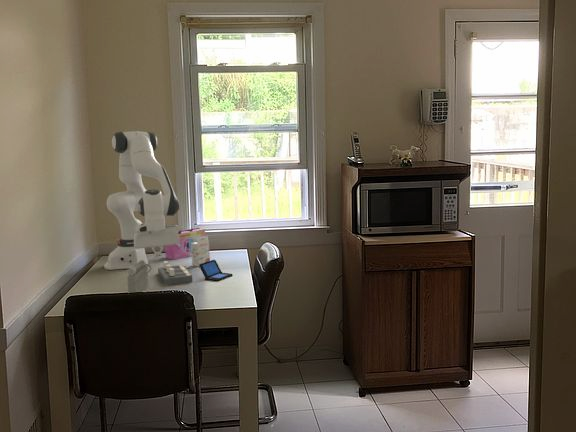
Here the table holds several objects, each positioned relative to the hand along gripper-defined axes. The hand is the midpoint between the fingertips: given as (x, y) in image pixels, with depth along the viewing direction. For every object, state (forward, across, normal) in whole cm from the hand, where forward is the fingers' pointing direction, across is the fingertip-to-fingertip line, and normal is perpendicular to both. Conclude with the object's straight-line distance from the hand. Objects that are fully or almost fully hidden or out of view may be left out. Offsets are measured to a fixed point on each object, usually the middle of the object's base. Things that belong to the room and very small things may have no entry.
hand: (157, 256), depth 269 cm
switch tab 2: (+10, -6, -8) cm, 14 cm away
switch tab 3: (+10, -6, 0) cm, 11 cm away
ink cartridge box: (+13, -26, -30) cm, 42 cm away
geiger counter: (+14, +12, +17) cm, 25 cm away
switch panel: (+13, -8, -8) cm, 18 cm away
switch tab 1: (+9, -6, -16) cm, 20 cm away
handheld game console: (+14, -26, +1) cm, 30 cm away
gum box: (+13, -23, -57) cm, 63 cm away
